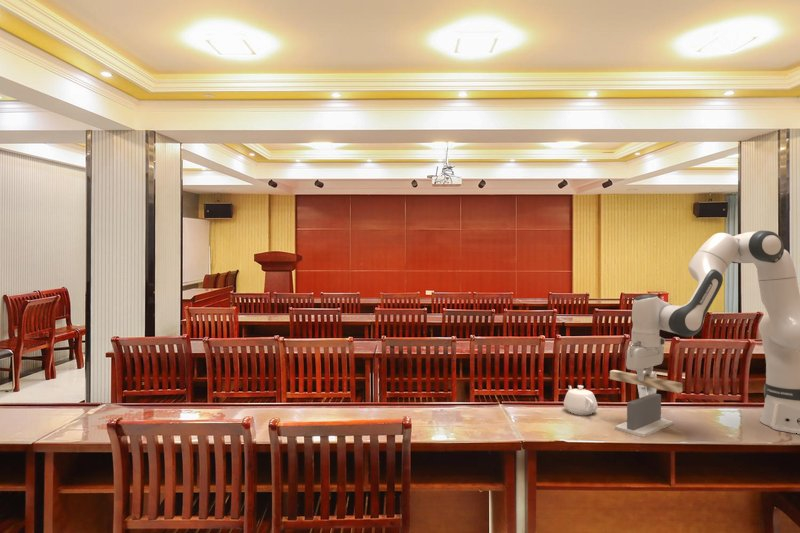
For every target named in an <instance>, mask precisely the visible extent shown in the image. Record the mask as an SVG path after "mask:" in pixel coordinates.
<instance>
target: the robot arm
mask: <svg viewBox="0 0 800 533" xmlns="http://www.w3.org/2000/svg"><path fill="white" fill-rule="evenodd" d="M781 238H782V237H780V235H779V234H777V233H776V232H774V231H771V230H758V231H755V230H754V231H747V232H746V231H745V232H743V233H739V234H733V235H732V234H730V233H726V232H717V233H714V234H713V235H712V236H710V237H709V238H708V239H707V240H706V241H705V242H704V243H703V244H702V245H701V246H700V247H699V249H698V250H697V251H696V252H695V254H694V255H693V256H692V258H691V259H690V261H689V263H688V265H687V266H688V272H689V274H690V276H691V278H693V279H694V280H695V281H696V282H698V284H697V287H696V289H695V291H694V292H693V294H692V295H691V297H690V299H689V301H688V302H687V303H686V304H682V305H675V304H671V303H669V302H666V301H665V300H662V299H661V298H659V296H658V295H656V294H641V295H638V296H636V297H635V298H634V299H633V301H632V308H631V321H632V328H631V334H630V337H631V339H630V340H631V345H630V346H629V348H627V352H626V360H625V366H626V369H627V370H630V371H635V372H636V374H638V380H639V381H644V380H645V376H649V377H651V373H652V371H654V366H658V365H659V366H660V365H661V364H663V361H664V352H665V349H664V345H665V344H666V339H665V338H664V337H661V336H660V330H662V331H664V332H668V333H673V334H676V335H679V336H681V337H685V338H686V337H687V338H688V337H689V338H690V337H693V336H695V335H697V334H699V332H701V330H702V328H703V325H704V321H705V318H706V315H707V314H708V311H709V310H710V307H711V305H712V304H713V302H714V300H715V299H716V297H717V295H718V293H719V291H720V290H721V287H722V285H723V281H724V277H723V276H724V275H725V273H726V271H727V270H728V268H729V267H730V265H731V264H732V263H733V264H752V263H753V264H754V266H755V268H756V272H757V274H756V275H757V280H758V282H757V283H758V287H759V293H760V298H761V302H762V305H764V308H765V309H766V311H767V314H768V316H766V317H764V318H762V319H761V320H760V322H759V324H758V332H759V334H760V336H761V341H762V347H763V353H764V357H765V365H766V366H765V377H766V378H765V383H764V386H763V395H764V404H763V405H764V406H763V410H762V414H761V417H760V419H759V421H760V423H762V424H763V425H766V426H768V427H770V428H771V429H773V430H775V431H780V432H786V433H791V434H796V433H797V435H800V288H799V284H798V283H799V282H798V279H797V273H796V269H795V268H796V267H795V264H794V261H793V259H792V256H791V254H790V252H789V251H788V250H786V249H785V247H784V243H783V240H782V239H781ZM644 370H646V371H645V374H644V373H643V371H644Z"/></svg>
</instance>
